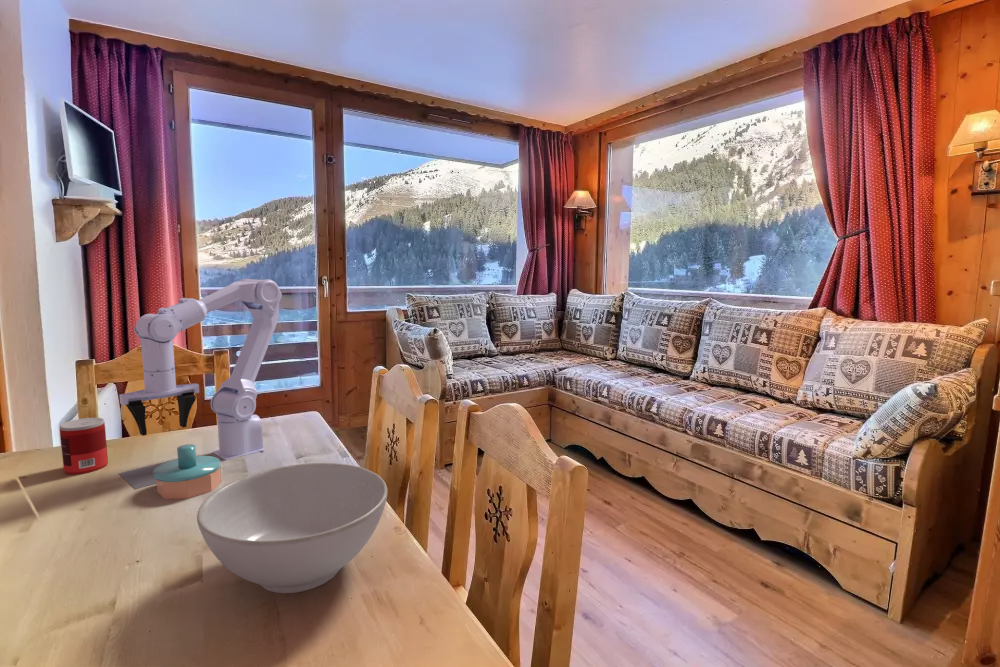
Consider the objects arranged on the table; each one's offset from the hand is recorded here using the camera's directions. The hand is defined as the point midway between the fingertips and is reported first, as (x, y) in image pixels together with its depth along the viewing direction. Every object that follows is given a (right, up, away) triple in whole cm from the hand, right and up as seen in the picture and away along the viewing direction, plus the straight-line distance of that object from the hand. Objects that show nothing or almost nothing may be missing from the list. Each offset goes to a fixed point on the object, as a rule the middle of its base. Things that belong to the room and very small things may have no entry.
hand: (163, 430), depth 114 cm
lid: (+8, -7, -5) cm, 12 cm away
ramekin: (+9, -11, -5) cm, 15 cm away
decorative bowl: (+43, -16, -33) cm, 56 cm away
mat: (-2, -10, +2) cm, 11 cm away
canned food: (-20, -10, +4) cm, 23 cm away
